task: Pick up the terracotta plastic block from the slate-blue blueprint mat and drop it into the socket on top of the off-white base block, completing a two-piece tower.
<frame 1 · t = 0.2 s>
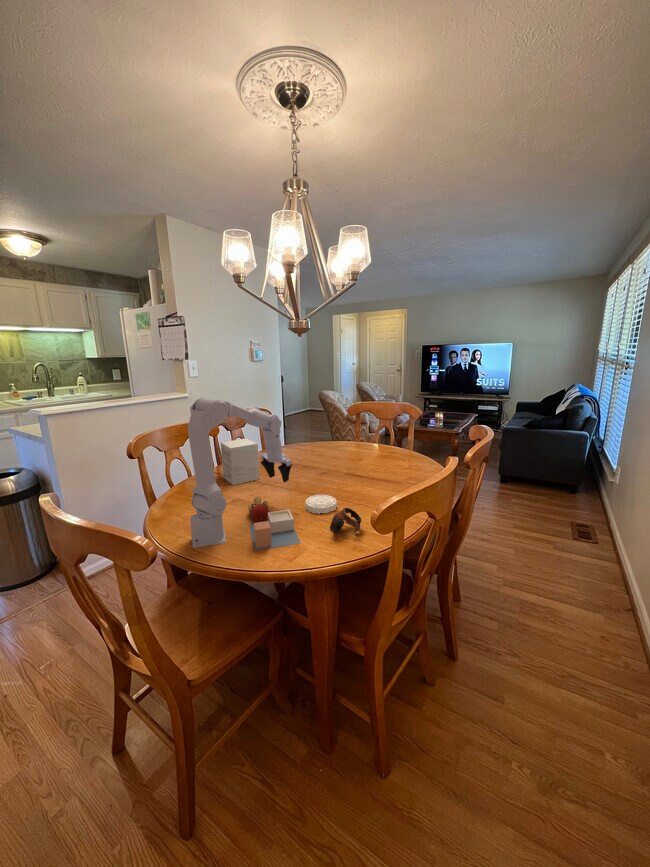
hand: (279, 478, 128), 11 cm above the table, tool pointing down, fingers open, 7 cm apart
kendama: (258, 513, 124), on the table
base block: (280, 526, 113), resting on blueprint mat
supplement box: (241, 478, 159), on the table
blueprint mat: (273, 534, 109), on the table
mooncake: (321, 509, 127), on the table
pottery mug: (343, 532, 110), on the table
terracotta block: (263, 543, 103), resting on blueprint mat
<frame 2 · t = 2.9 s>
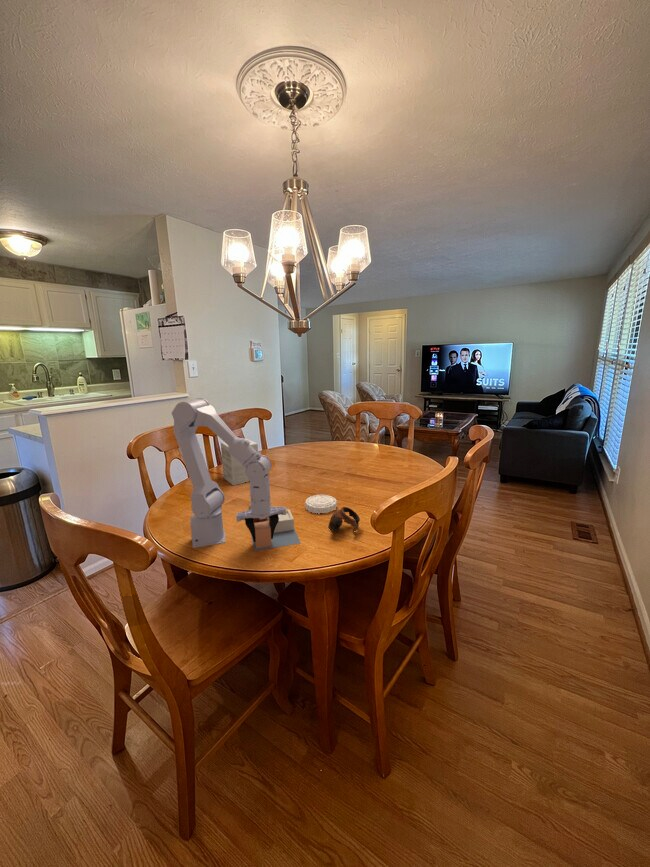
hand: (262, 538, 102), 2 cm above the table, tool pointing down, fingers closed on terracotta block, 4 cm apart
terracotta block: (263, 543, 103), resting on blueprint mat, touching gripper
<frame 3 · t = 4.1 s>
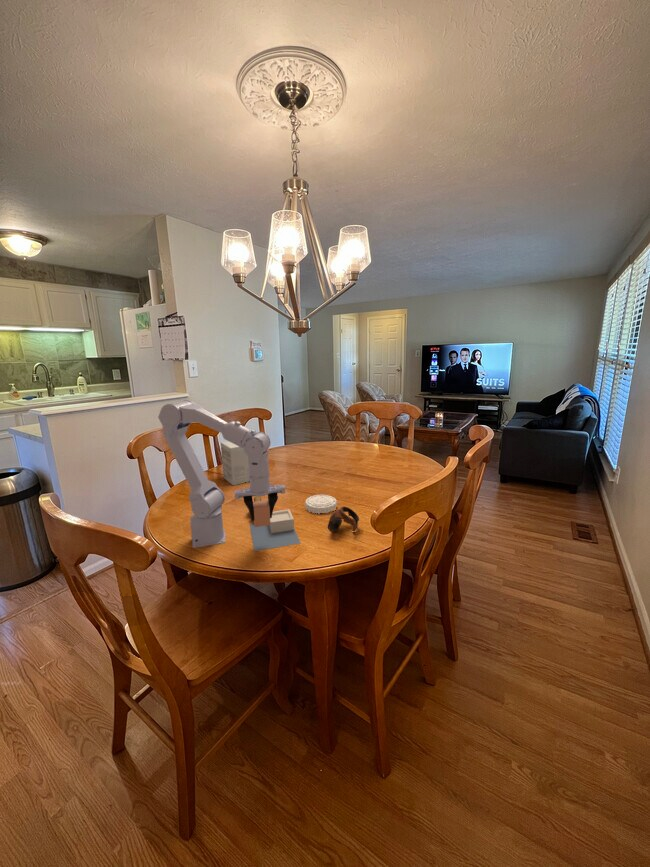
hand: (261, 517, 101), 9 cm above the table, tool pointing down, fingers closed on terracotta block, 4 cm apart
terracotta block: (261, 522, 101), point 7 cm above the table, touching gripper
when the fingers open (6 cm above the table, at t = 5.9 s): terracotta block stays where it is, resting on base block.
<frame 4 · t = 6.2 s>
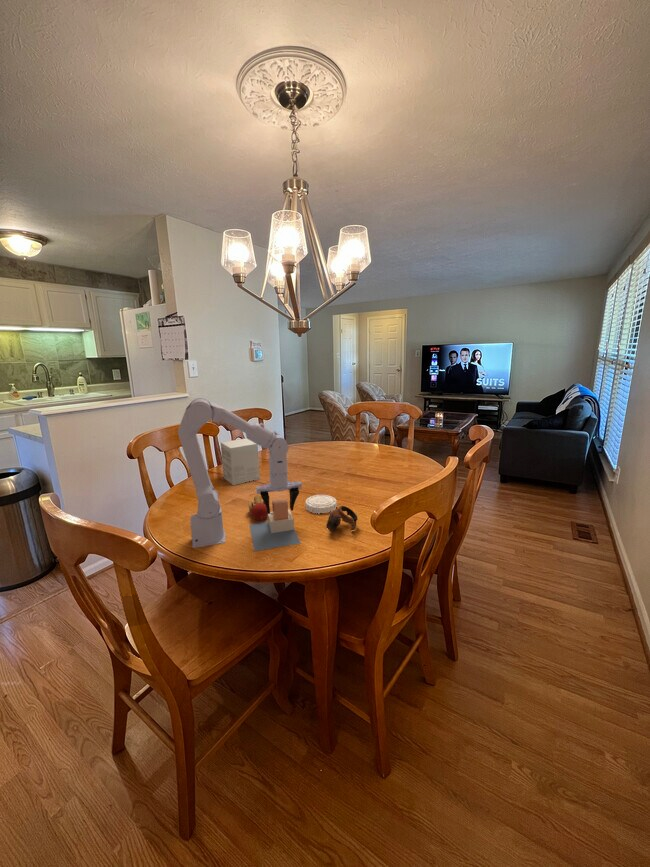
hand: (280, 510, 112), 6 cm above the table, tool pointing down, fingers open, 7 cm apart
base block: (280, 526, 113), resting on blueprint mat, touching terracotta block
terracotta block: (280, 517, 112), point 3 cm above the table, touching base block
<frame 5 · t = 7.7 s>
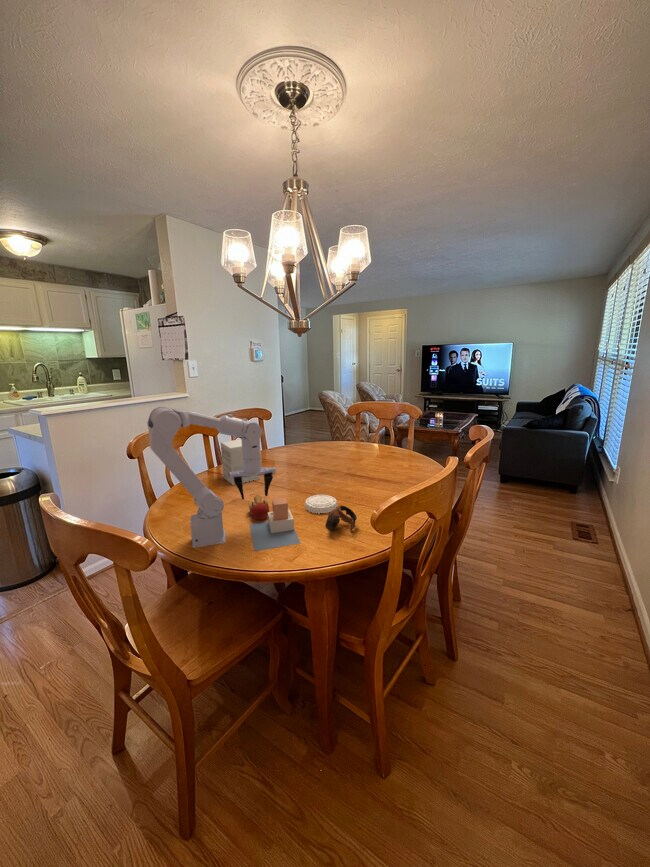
hand: (254, 496, 113), 10 cm above the table, tool pointing down, fingers open, 7 cm apart
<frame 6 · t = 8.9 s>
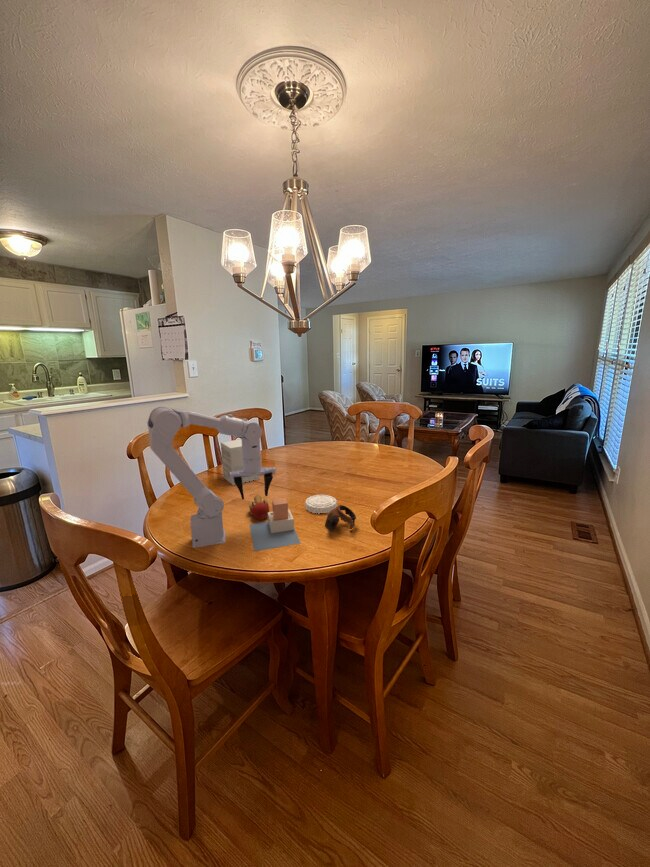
hand: (254, 496, 113), 10 cm above the table, tool pointing down, fingers open, 7 cm apart
at the end: terracotta block 0.1 cm off-centre on the base block, point 3.0 cm above the base block's base; terracotta block tilted 0°; the gripper is holding nothing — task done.
